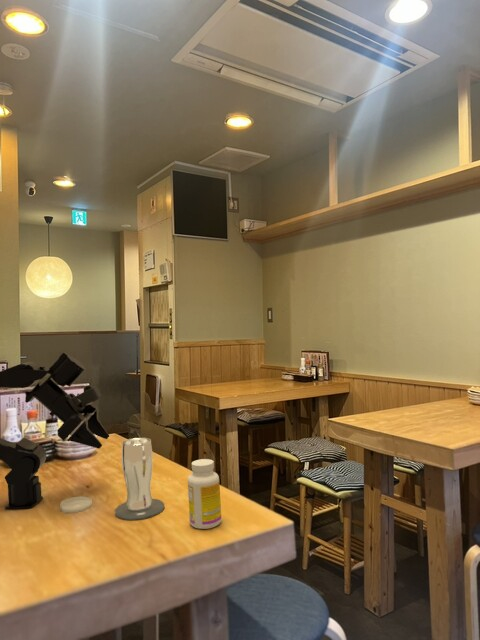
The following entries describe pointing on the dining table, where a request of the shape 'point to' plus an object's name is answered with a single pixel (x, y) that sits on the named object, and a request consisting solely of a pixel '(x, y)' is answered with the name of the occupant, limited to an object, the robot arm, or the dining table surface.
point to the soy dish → (75, 504)
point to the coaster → (139, 515)
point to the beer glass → (137, 473)
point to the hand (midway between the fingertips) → (104, 442)
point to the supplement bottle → (204, 495)
